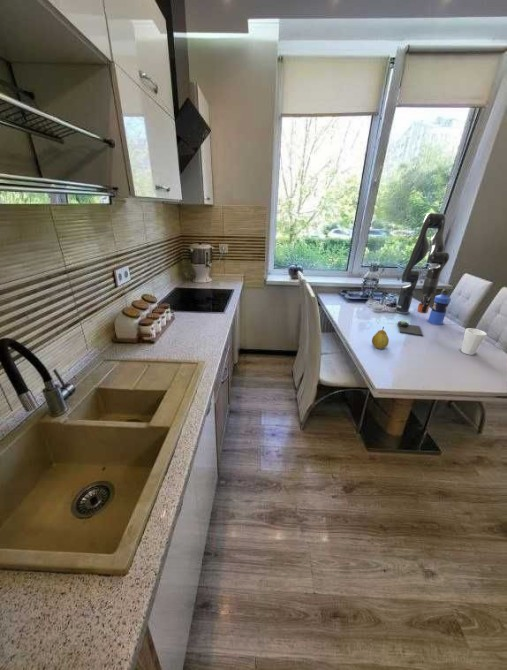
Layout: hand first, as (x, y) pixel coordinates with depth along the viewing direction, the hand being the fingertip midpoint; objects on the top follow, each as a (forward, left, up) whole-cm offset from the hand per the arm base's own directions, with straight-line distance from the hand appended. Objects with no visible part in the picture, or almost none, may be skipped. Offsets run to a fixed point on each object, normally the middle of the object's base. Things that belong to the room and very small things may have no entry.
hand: (422, 310), depth 177 cm
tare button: (-7, -8, -13) cm, 17 cm away
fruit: (+35, -24, -15) cm, 45 cm away
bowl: (0, 0, -1) cm, 1 cm away
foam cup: (+20, +24, -15) cm, 35 cm away
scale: (-2, -4, -15) cm, 16 cm away
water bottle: (-26, +15, -15) cm, 34 cm away
